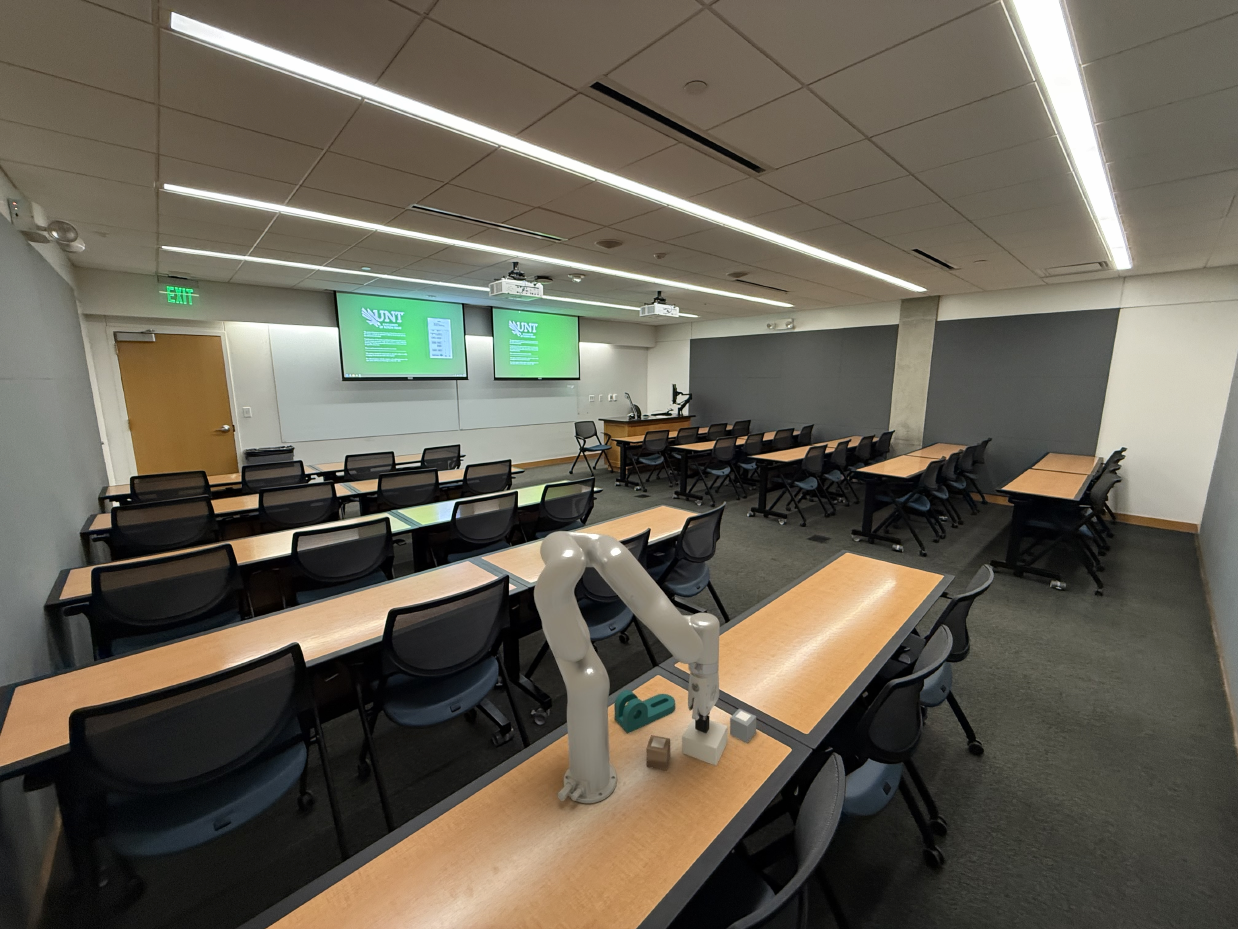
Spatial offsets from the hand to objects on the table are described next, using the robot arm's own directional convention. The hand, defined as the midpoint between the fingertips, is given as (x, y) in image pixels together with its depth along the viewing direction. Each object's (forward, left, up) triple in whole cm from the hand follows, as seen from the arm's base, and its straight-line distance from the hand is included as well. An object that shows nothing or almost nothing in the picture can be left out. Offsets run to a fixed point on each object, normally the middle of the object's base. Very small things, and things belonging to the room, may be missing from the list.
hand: (702, 729), depth 122 cm
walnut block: (-10, +8, -5) cm, 13 cm away
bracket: (+4, +18, -6) cm, 20 cm away
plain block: (+1, -1, -6) cm, 6 cm away
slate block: (+10, -7, -5) cm, 14 cm away
